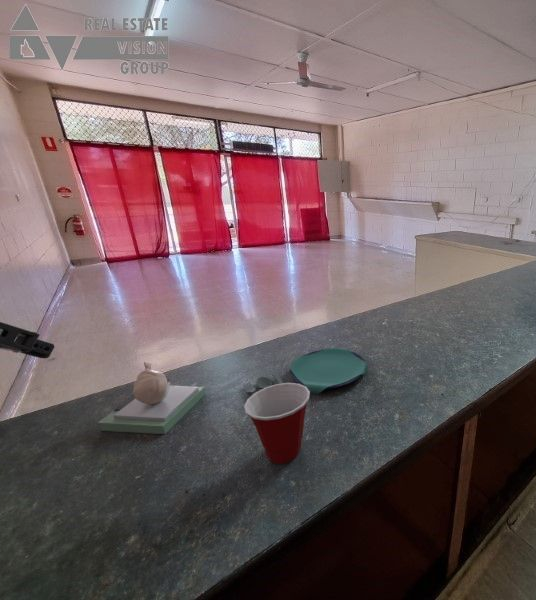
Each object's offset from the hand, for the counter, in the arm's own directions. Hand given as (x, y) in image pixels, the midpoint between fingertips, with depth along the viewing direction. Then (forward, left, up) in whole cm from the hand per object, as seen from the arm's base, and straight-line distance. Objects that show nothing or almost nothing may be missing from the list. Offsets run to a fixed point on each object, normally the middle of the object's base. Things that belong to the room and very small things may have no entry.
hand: (21, 350), depth 47 cm
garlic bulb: (+5, +14, -20) cm, 25 cm away
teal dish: (+34, +30, -22) cm, 50 cm away
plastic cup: (+36, +6, -22) cm, 42 cm away
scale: (+5, +15, -22) cm, 27 cm away
